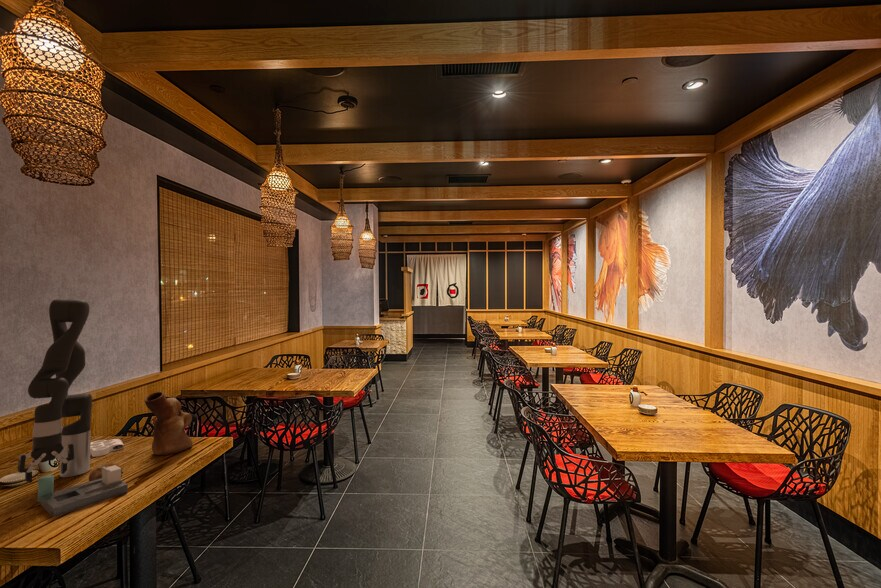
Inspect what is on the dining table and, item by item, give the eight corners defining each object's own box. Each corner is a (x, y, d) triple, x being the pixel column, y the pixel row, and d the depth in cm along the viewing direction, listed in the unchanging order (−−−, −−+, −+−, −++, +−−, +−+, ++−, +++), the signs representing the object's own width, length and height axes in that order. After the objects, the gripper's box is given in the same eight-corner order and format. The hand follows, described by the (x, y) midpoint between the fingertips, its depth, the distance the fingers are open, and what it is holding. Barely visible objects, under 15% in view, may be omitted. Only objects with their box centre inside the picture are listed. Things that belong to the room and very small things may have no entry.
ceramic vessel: (199, 445, 191) (200, 386, 192) (158, 463, 170) (158, 396, 171) (175, 443, 195) (175, 384, 196) (131, 460, 174) (132, 394, 175)
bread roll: (102, 483, 159) (92, 467, 158) (129, 469, 162) (119, 453, 161) (90, 494, 150) (79, 477, 149) (119, 478, 153) (109, 462, 152)
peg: (36, 500, 138) (36, 478, 138) (51, 495, 141) (52, 473, 142) (39, 503, 136) (39, 480, 136) (54, 498, 139) (55, 476, 139)
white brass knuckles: (125, 451, 186) (84, 460, 175) (119, 442, 198) (81, 450, 188) (125, 444, 186) (84, 453, 175) (119, 436, 198) (81, 443, 188)
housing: (40, 504, 135) (40, 493, 135) (111, 482, 152) (112, 472, 152) (53, 517, 126) (53, 506, 126) (127, 492, 143) (127, 482, 143)
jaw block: (101, 481, 145) (102, 467, 145) (115, 477, 149) (115, 463, 149) (107, 485, 142) (107, 470, 142) (120, 481, 145) (121, 466, 145)
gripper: (70, 426, 147) (69, 468, 147) (16, 437, 135) (15, 483, 134) (77, 429, 143) (76, 472, 143) (22, 440, 131) (20, 487, 131)
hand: (46, 477), depth 139 cm, fingers open, 8 cm apart
